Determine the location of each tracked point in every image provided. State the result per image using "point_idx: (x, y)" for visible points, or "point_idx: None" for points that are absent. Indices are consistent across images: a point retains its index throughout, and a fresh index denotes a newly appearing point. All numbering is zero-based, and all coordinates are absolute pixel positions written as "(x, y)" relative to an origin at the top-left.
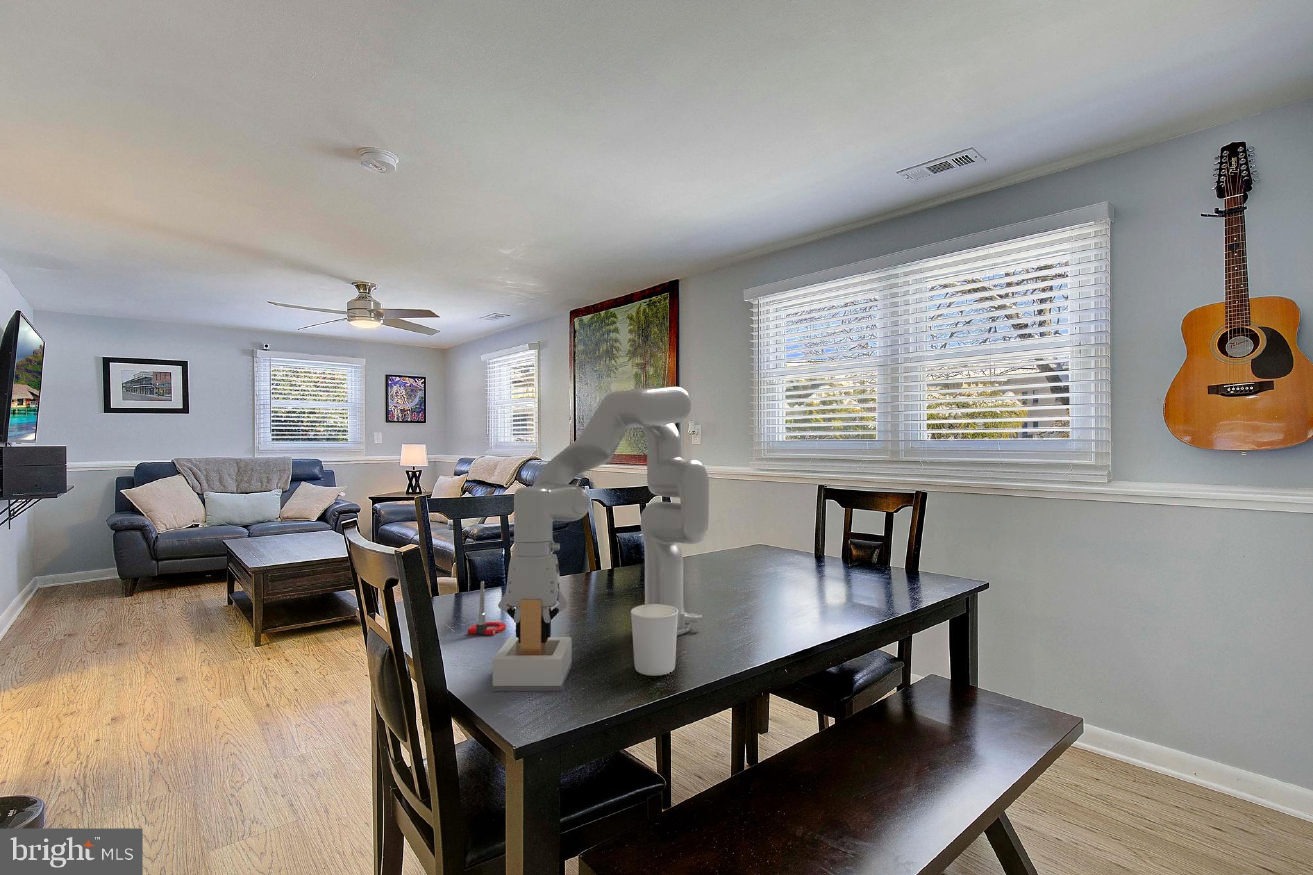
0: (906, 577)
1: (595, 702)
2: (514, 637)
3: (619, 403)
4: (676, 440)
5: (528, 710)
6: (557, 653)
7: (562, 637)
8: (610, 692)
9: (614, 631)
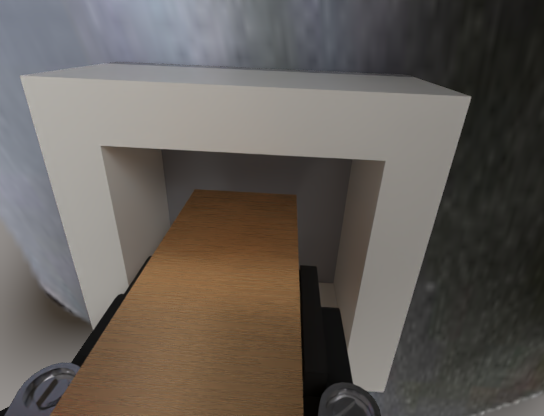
0: None
1: (452, 363)
2: (57, 81)
3: None
4: None
5: None
6: (368, 342)
7: (403, 101)
8: (510, 318)
9: None
